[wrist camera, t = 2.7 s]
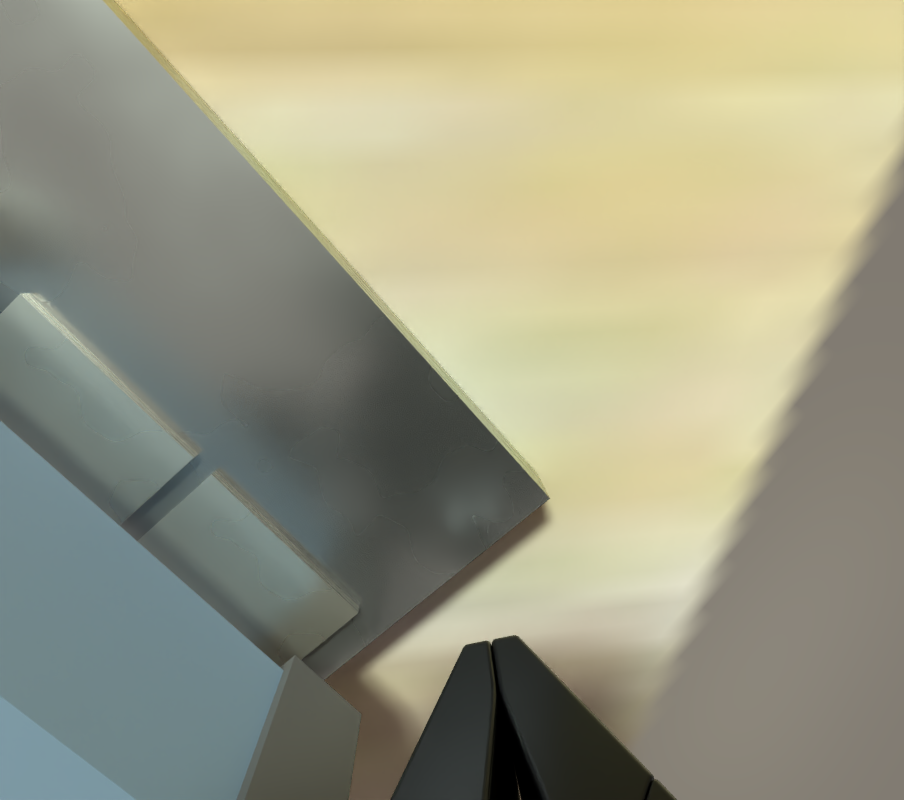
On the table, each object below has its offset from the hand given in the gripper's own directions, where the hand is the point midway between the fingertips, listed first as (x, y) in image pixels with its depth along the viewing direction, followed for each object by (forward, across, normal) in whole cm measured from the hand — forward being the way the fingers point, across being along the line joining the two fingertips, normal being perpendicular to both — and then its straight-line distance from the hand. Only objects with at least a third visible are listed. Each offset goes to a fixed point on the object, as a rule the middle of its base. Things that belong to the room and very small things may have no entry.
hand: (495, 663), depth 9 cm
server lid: (+3, +7, -4) cm, 8 cm away
